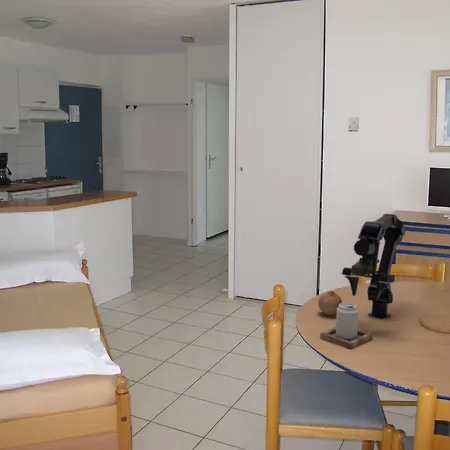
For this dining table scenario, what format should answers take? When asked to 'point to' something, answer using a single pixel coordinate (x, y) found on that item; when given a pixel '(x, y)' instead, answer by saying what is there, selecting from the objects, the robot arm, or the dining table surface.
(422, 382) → the dining table surface
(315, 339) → the dining table surface
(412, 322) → the dining table surface
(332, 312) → the onion
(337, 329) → the can
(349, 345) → the brown wooden tray
